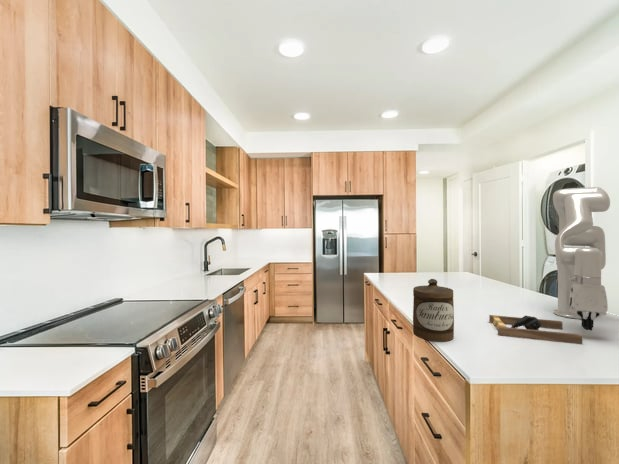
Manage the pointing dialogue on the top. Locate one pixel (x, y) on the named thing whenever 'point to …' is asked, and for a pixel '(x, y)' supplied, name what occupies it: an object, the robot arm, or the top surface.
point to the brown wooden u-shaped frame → (534, 334)
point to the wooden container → (433, 312)
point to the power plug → (528, 323)
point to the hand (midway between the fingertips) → (587, 329)
